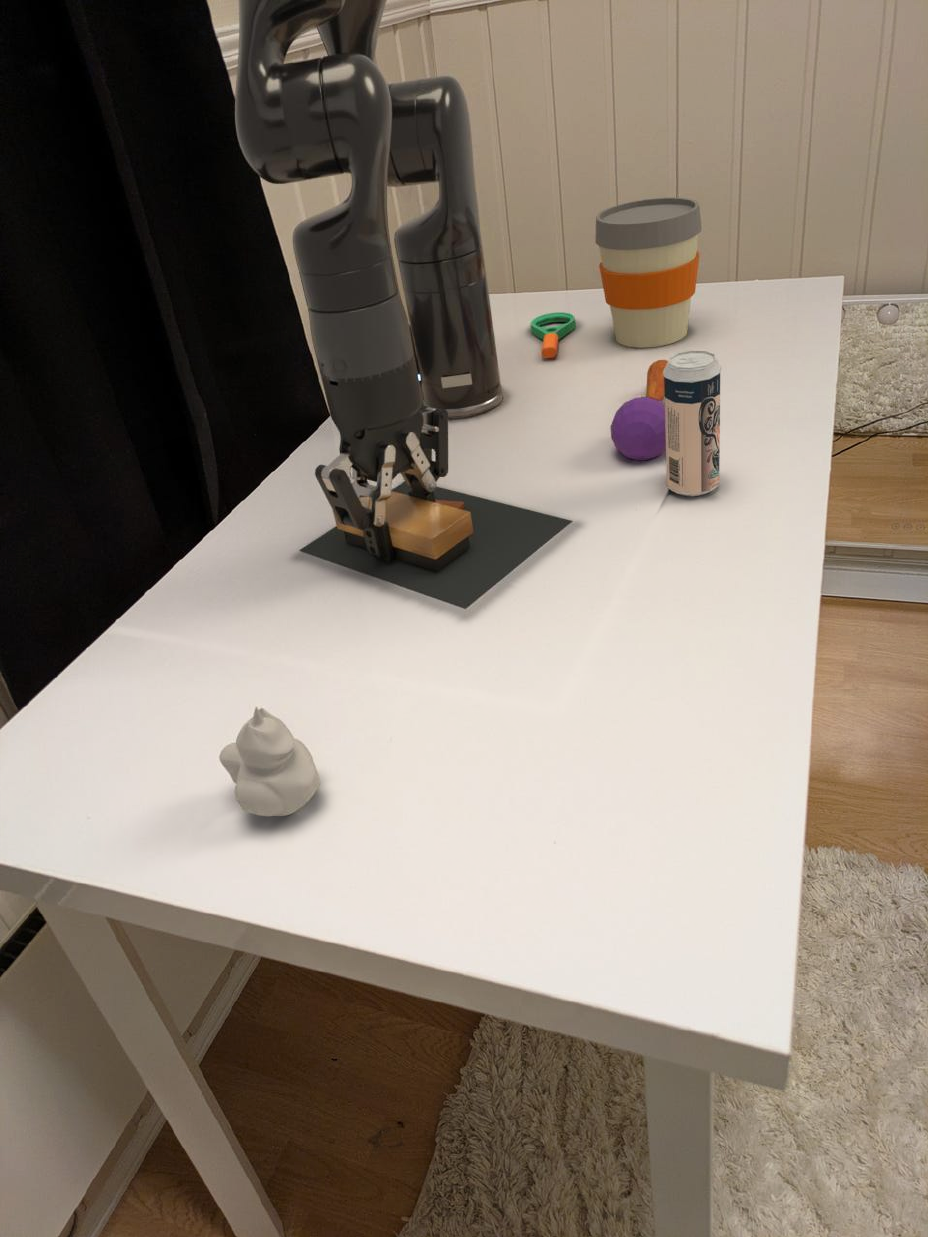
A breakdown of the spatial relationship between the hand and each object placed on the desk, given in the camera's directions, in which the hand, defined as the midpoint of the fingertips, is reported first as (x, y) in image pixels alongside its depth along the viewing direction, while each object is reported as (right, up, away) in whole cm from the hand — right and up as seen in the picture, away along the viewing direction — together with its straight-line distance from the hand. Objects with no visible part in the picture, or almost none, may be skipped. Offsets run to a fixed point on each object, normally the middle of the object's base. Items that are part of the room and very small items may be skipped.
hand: (405, 542), depth 80 cm
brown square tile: (+3, +3, +4) cm, 6 cm away
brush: (0, 0, 0) cm, 0 cm away
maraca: (+25, +13, +14) cm, 31 cm away
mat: (+3, 0, +1) cm, 3 cm away
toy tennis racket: (+17, +30, +40) cm, 53 cm away
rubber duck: (-7, -18, -22) cm, 30 cm away
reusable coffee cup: (+29, +29, +36) cm, 55 cm away
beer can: (+26, +5, +2) cm, 27 cm away
